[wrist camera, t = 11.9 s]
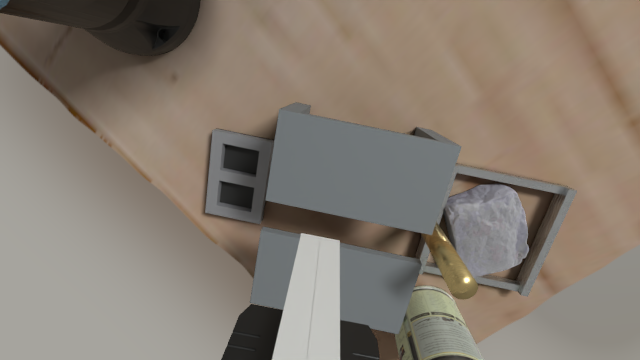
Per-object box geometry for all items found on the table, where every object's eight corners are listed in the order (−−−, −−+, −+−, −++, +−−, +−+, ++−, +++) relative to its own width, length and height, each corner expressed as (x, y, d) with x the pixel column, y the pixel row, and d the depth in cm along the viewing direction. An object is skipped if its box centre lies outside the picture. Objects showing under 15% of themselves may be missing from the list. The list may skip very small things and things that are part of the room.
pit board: (217, 128, 43) (212, 130, 42) (274, 140, 43) (272, 142, 42) (209, 208, 47) (205, 212, 45) (262, 219, 47) (260, 224, 45)
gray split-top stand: (295, 102, 41) (279, 109, 31) (431, 130, 41) (461, 146, 31) (270, 254, 48) (250, 302, 38) (386, 279, 48) (398, 334, 38)
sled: (429, 157, 42) (481, 203, 26) (566, 185, 42) (702, 249, 26) (397, 261, 47) (424, 354, 31) (520, 287, 47) (610, 393, 31)
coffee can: (465, 330, 50) (509, 422, 36) (401, 346, 52) (420, 439, 38) (448, 276, 47) (489, 353, 34) (381, 294, 49) (395, 374, 36)
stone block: (498, 173, 44) (432, 200, 44) (524, 181, 39) (450, 212, 39) (513, 245, 47) (452, 271, 47) (539, 261, 43) (471, 289, 42)
